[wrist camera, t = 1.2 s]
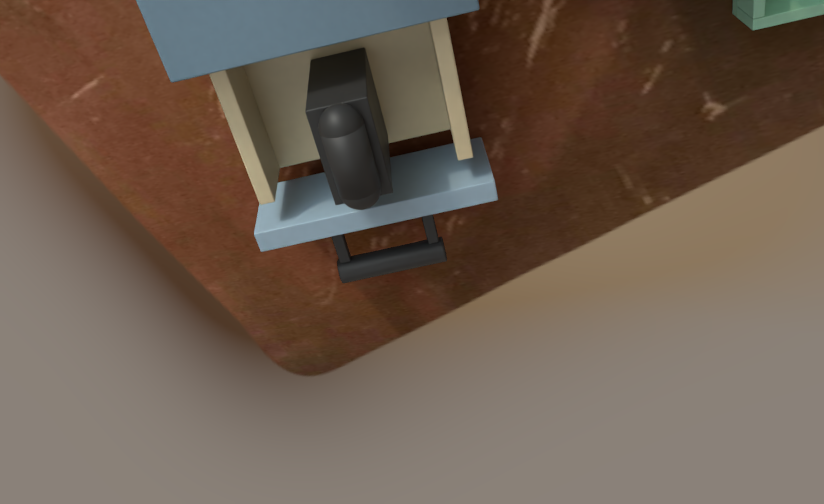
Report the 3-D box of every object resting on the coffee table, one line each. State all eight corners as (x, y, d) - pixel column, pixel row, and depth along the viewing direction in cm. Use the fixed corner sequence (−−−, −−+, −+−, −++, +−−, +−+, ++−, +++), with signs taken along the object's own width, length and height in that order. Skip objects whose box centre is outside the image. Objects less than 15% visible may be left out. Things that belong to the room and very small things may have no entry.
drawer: (496, 216, 46) (509, 264, 42) (290, 260, 47) (285, 312, 43) (433, -122, 36) (444, -100, 32) (169, -56, 36) (147, -26, 32)
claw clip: (309, 57, 39) (302, 123, 33) (364, 44, 39) (367, 108, 33) (337, 148, 42) (335, 224, 36) (388, 136, 42) (395, 211, 36)
